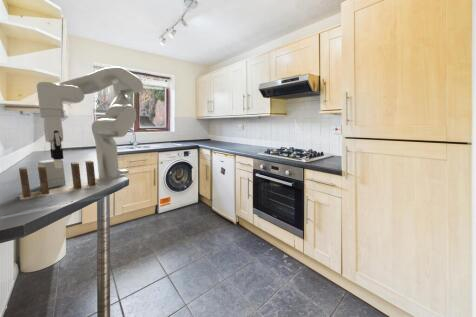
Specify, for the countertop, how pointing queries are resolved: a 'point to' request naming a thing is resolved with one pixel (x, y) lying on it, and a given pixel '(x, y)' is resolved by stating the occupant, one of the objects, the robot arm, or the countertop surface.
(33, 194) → the board
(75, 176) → the domino
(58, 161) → the domino
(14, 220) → the countertop surface
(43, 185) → the domino
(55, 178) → the supplement box
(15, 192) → the countertop surface
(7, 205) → the countertop surface
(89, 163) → the domino
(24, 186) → the domino end
